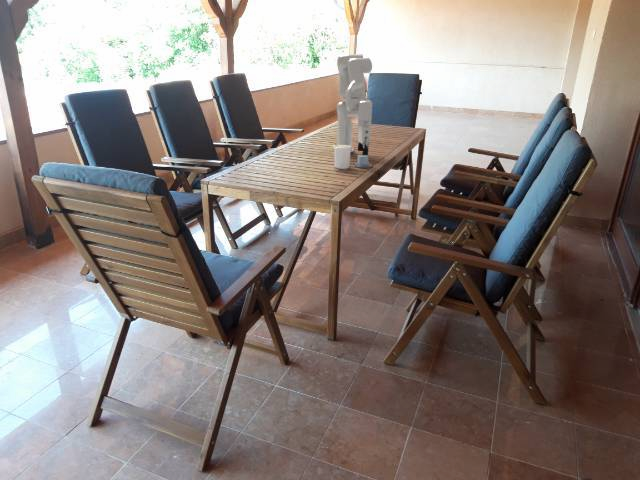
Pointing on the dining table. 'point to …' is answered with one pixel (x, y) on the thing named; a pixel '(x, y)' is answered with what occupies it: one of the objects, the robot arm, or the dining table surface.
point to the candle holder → (342, 156)
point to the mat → (362, 166)
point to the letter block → (362, 160)
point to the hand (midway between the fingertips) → (362, 152)
